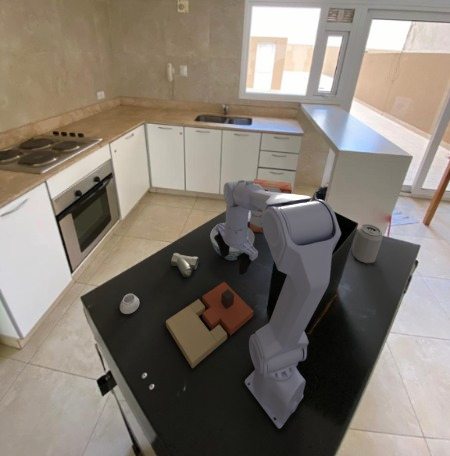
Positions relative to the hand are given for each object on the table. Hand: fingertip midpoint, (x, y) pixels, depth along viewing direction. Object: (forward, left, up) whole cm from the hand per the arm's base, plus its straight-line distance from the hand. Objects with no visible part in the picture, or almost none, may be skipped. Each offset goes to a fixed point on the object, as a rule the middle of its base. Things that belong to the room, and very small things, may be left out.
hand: (233, 264), depth 70 cm
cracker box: (+13, -30, -11) cm, 34 cm away
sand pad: (-3, +15, -10) cm, 18 cm away
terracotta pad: (-3, +6, -10) cm, 12 cm away
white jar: (+14, +25, -11) cm, 30 cm away
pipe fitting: (+16, +7, -11) cm, 20 cm away
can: (-18, -46, -11) cm, 51 cm away
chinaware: (+12, -10, -11) cm, 19 cm away
